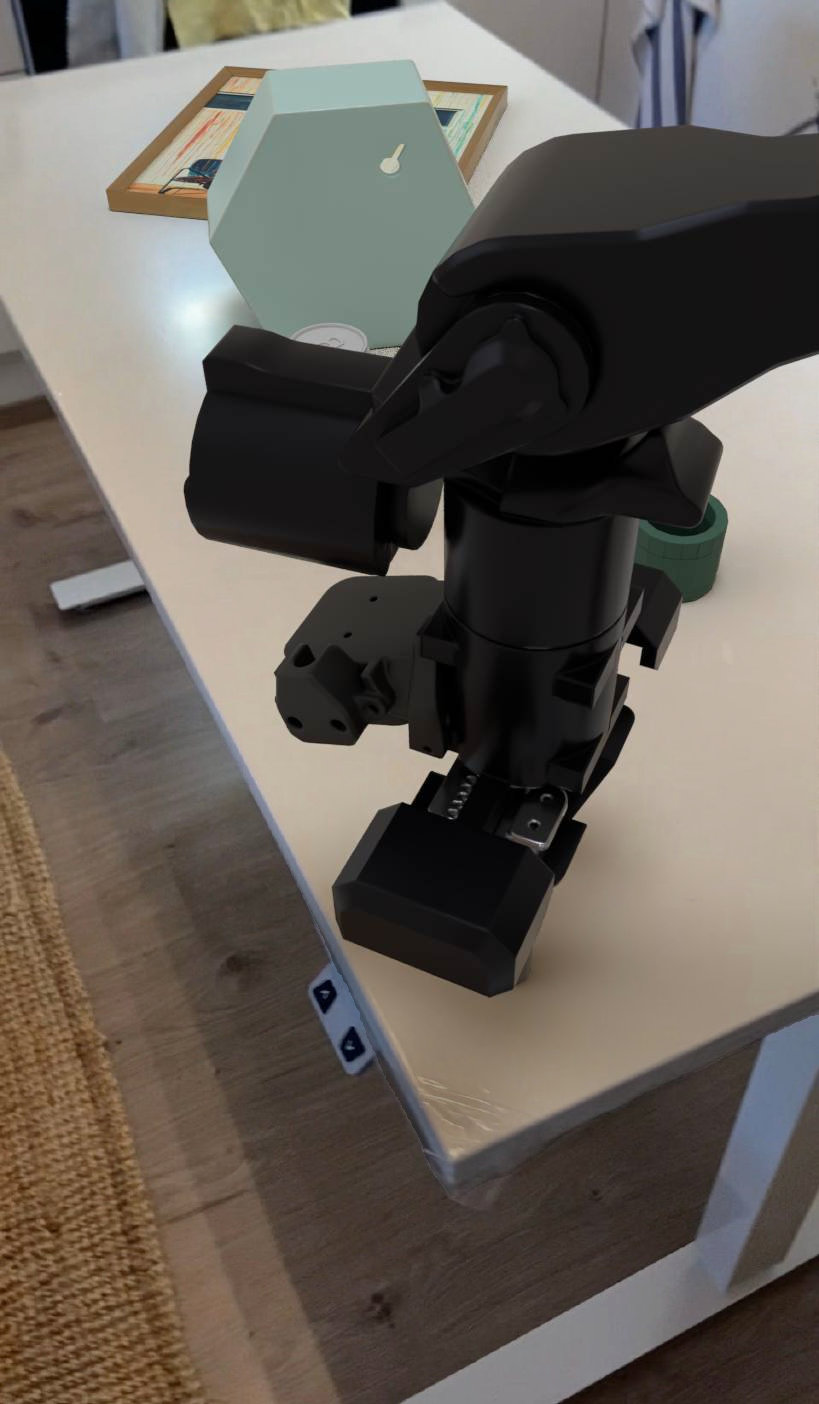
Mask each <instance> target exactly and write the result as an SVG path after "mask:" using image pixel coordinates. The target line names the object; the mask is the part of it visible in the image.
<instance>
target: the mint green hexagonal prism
mask: <svg viewBox="0 0 819 1404" xmlns="http://www.w3.org/2000/svg"><path fill="white" fill-rule="evenodd" d="M422 80H423V78H422V76H421V75H420V72H419V70H418V66H417V65H416V62H415V61H414V60H413V59H396V60H394V59H393V60H382V61H371V62H358V63H346V64H345V63H343V64H333V65H332V64H331V65H319V66H318V65H317V66H307V67H306V66H305V67H293V68H281V69H280V68H279V69H276V70H269V71H267V72H266V73H265V75H264V77H263V79H262V81H261V83H260V85H259V87H258V89H257V91H256V93H255V95H254V97H253V99H252V101H251V103H250V105H249V107H248V109H247V111H246V114H245V116H244V118H243V120H242V122H241V124H240V126H239V128H238V130H237V132H236V134H235V136H234V138H233V140H232V142H231V144H230V146H229V148H228V150H227V152H226V154H225V157H224V159H223V161H222V163H221V165H220V167H219V169H218V171H217V173H216V175H215V177H214V179H213V181H212V183H211V185H210V187H209V190H208V192H207V195H206V196H207V214H208V220H207V227H208V229H207V231H208V243H209V245H210V247H211V249H212V250H213V252H214V254H215V255H216V257H217V258H218V260H219V261H220V264H221V265H222V267H223V268H224V269H225V271H226V273H227V274H228V276H229V277H230V279H231V281H232V282H233V284H234V286H235V287H236V289H237V290H238V292H239V293H240V295H241V297H242V298H243V300H244V302H245V303H246V305H247V307H248V308H249V309H250V311H251V313H252V314H253V316H254V317H255V319H256V321H257V322H258V324H259V325H260V327H261V329H264V330H268V331H272V332H275V333H277V334H279V335H282V336H284V337H287V338H289V339H290V338H291V337H292V336H293V335H294V334H295V333H296V332H298V331H299V330H301V329H303V328H305V327H308V326H311V325H316V324H321V323H341V324H346V325H350V326H353V327H355V328H357V329H359V330H360V331H361V332H363V333H364V334H365V336H366V338H367V344H368V347H369V349H370V350H371V349H382V348H393V347H401V346H402V344H403V343H404V341H405V340H406V338H407V337H408V335H409V334H410V332H411V331H412V329H413V328H414V326H415V325H416V321H417V311H418V301H419V299H420V297H421V295H422V293H423V291H424V289H425V287H426V285H427V282H428V280H429V278H430V276H431V274H432V272H433V270H434V269H435V267H436V266H437V265H438V263H439V262H440V260H441V259H442V257H443V256H444V255H445V253H446V252H447V250H448V249H449V247H450V246H451V244H452V243H453V242H454V240H455V239H456V237H457V236H458V234H459V233H460V232H461V230H462V229H463V227H464V226H465V224H466V223H467V221H468V220H469V219H470V217H471V216H472V214H473V213H474V211H475V210H476V209H477V206H476V204H475V201H474V199H473V196H472V194H471V191H470V189H469V186H468V184H466V181H465V179H464V177H463V174H462V172H461V170H460V167H459V165H458V163H457V160H456V158H455V156H454V153H453V151H452V149H451V146H450V144H449V142H448V139H447V137H446V135H445V132H444V130H443V128H442V125H441V123H440V121H439V118H438V116H437V114H436V111H435V109H434V107H433V104H432V102H431V100H430V97H429V95H428V93H427V90H426V88H425V86H424V83H423V81H422ZM401 144H404V147H403V149H402V151H401V152H400V154H399V156H398V158H397V160H398V162H399V169H398V170H397V171H396V172H395V173H392V174H388V173H385V172H384V171H382V169H381V167H380V164H381V162H382V161H383V160H384V159H386V158H392V156H393V154H394V153H395V151H396V150H397V148H398V146H399V145H401Z"/></svg>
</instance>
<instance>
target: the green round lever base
mask: <svg viewBox="0 0 819 1404" xmlns="http://www.w3.org/2000/svg"><path fill="white" fill-rule="evenodd" d="M728 524H729V517H728V511H727V508H726V507H725V506H724V505H723V503H722V502H721V501H720V499H718V498H717V497H716V496H714V495H712V494H710V497H709V500H708V504H707V507H706V510H705V513H704V517H703V520H702V521H701V523H700V524H699V525H697V526H696V527H694V528H682V527H676V526H671V525H666V524H661V523H656V522H651V521H646V520H641V519H640V523H639V529H638V536H637V543H636V550H635V556H634V563H638V564H642V565H645V566H649V567H653V568H657V569H660V570H664V572H665V573H666V574H667V575H668V576H669V578H670V579H671V580H672V581H673V583H674V584H675V585H676V586H677V587H678V589H679V590H680V591H681V592H682V594H683V598H682V603H687V602H693V601H695V600H698V599H699V598H701V597H703V596H705V595H706V594H708V592H710V590H712V588H713V587H714V584H715V581H716V577H717V573H718V570H719V567H720V561H721V557H722V554H723V548H724V544H725V539H726V534H727V529H728Z"/></svg>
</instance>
